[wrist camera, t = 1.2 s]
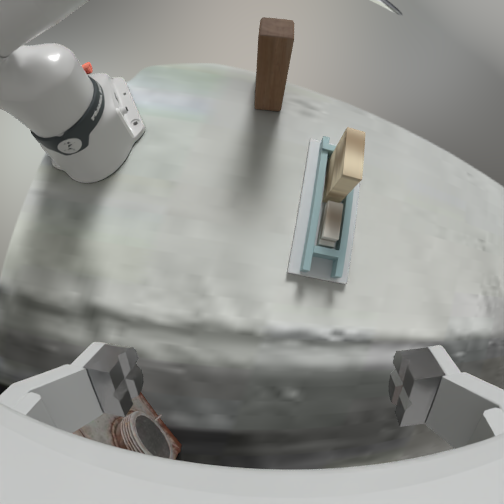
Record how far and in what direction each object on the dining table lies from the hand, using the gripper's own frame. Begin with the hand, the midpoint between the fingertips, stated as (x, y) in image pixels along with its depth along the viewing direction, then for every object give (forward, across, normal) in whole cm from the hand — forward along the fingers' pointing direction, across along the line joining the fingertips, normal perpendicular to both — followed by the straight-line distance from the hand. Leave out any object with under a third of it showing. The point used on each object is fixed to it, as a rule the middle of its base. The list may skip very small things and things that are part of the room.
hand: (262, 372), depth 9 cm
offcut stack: (+39, -6, +4) cm, 40 cm away
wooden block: (+49, +2, -20) cm, 53 cm away
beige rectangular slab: (+42, -8, -3) cm, 43 cm away
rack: (+41, -7, +1) cm, 42 cm away
